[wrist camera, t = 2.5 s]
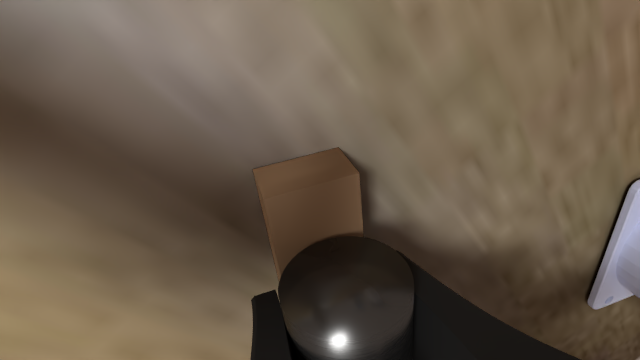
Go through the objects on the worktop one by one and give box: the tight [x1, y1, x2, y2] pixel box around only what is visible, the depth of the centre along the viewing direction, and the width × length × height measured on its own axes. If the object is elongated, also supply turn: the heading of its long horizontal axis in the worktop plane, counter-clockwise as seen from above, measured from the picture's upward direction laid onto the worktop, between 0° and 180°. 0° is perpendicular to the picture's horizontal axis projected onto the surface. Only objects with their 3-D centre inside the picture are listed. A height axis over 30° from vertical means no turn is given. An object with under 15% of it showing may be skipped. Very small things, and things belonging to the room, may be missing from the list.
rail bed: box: [253, 147, 364, 281], centre depth 14 cm, size 3×10×2 cm, turn 6°
